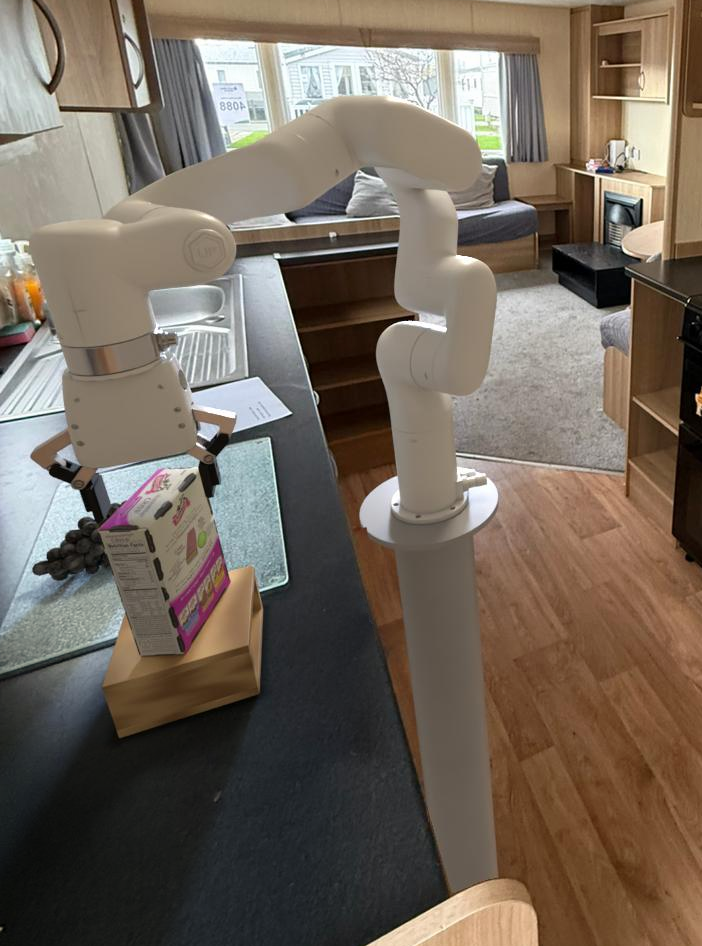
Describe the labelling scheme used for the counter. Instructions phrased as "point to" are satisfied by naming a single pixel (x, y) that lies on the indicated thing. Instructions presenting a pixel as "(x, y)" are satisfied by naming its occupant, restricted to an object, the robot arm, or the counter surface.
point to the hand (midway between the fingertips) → (159, 502)
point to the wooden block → (190, 664)
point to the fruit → (77, 550)
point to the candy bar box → (166, 560)
